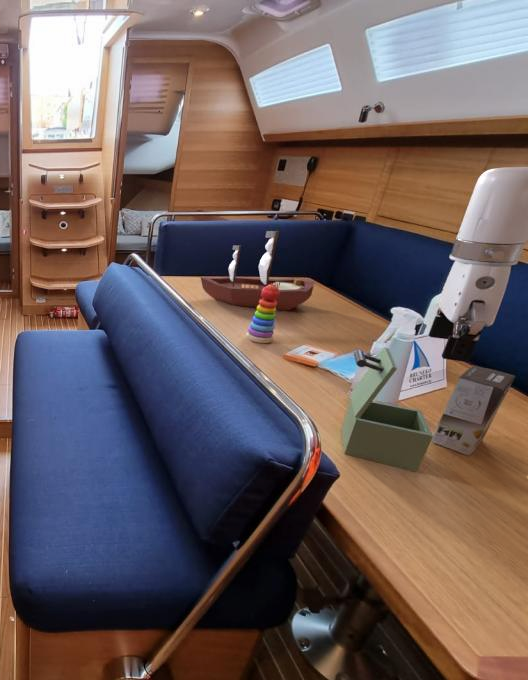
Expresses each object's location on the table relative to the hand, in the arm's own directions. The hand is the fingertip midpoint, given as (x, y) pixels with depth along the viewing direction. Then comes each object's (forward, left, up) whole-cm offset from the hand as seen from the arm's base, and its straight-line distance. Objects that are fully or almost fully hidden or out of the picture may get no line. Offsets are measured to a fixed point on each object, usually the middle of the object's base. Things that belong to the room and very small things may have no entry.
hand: (446, 348), depth 73 cm
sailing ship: (+34, -92, -27) cm, 102 cm away
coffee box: (-12, -15, -27) cm, 33 cm away
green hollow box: (+3, -4, -27) cm, 27 cm away
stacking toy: (+28, -55, -27) cm, 67 cm away
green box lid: (+7, -4, -11) cm, 14 cm away
